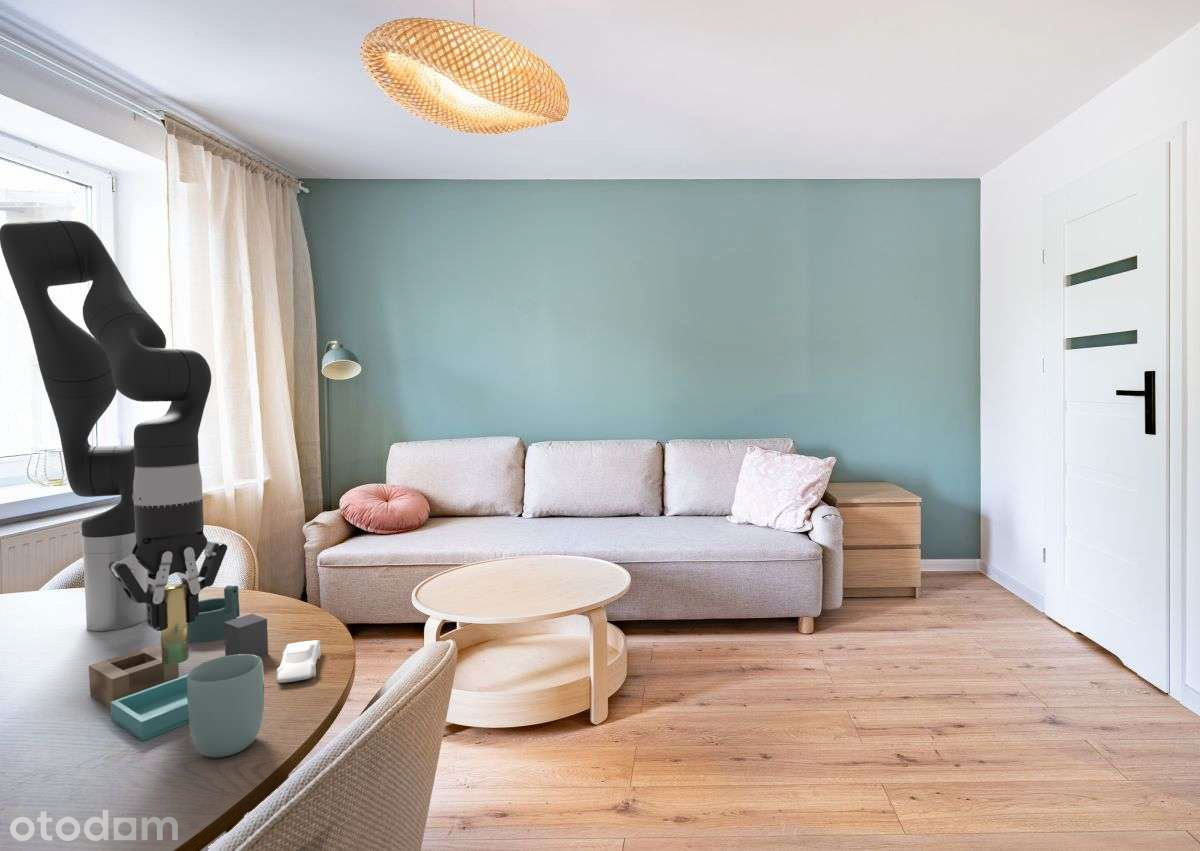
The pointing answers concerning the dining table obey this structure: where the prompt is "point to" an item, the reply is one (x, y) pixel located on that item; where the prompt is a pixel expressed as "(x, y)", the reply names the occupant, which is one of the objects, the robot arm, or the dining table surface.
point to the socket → (129, 674)
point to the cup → (225, 704)
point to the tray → (153, 709)
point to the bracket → (214, 616)
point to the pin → (175, 625)
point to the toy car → (299, 661)
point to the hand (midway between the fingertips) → (174, 624)
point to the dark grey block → (246, 636)
